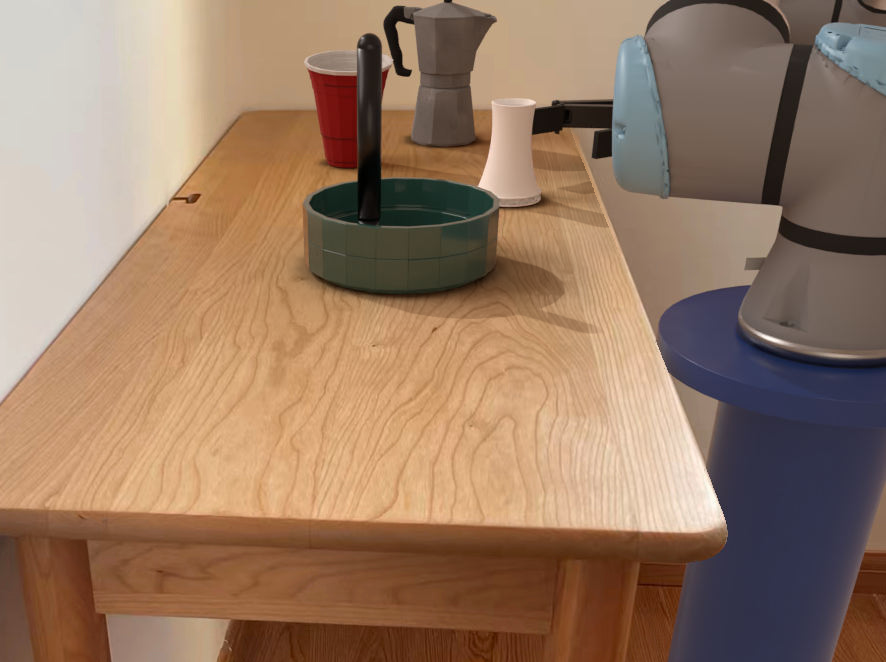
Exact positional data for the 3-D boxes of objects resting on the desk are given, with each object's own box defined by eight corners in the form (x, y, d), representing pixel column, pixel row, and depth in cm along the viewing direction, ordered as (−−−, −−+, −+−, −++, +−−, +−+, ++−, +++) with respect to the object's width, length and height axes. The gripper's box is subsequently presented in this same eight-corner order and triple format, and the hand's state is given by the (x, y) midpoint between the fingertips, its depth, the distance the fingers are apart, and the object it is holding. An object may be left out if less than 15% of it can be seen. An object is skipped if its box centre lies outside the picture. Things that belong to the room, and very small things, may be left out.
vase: (466, 192, 131) (471, 97, 125) (529, 188, 132) (537, 94, 126) (483, 209, 125) (489, 110, 119) (549, 205, 126) (558, 106, 120)
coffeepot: (499, 136, 155) (509, -17, 144) (478, 150, 148) (486, -9, 137) (395, 128, 160) (397, -20, 149) (370, 141, 153) (370, -13, 142)
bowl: (496, 241, 115) (501, 178, 111) (493, 300, 100) (498, 230, 97) (320, 237, 117) (318, 175, 113) (291, 294, 102) (289, 225, 99)
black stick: (394, 252, 110) (397, 29, 99) (389, 266, 107) (392, 36, 95) (349, 251, 111) (347, 29, 99) (343, 265, 107) (340, 36, 96)
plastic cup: (309, 174, 138) (306, 65, 131) (304, 154, 147) (301, 51, 140) (397, 172, 139) (399, 62, 132) (387, 152, 148) (388, 48, 141)
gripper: (766, 166, 129) (626, 192, 121) (619, 129, 147) (487, 149, 138) (780, 94, 125) (636, 115, 116) (627, 64, 142) (491, 81, 134)
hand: (554, 134), depth 127 cm, fingers open, 13 cm apart
